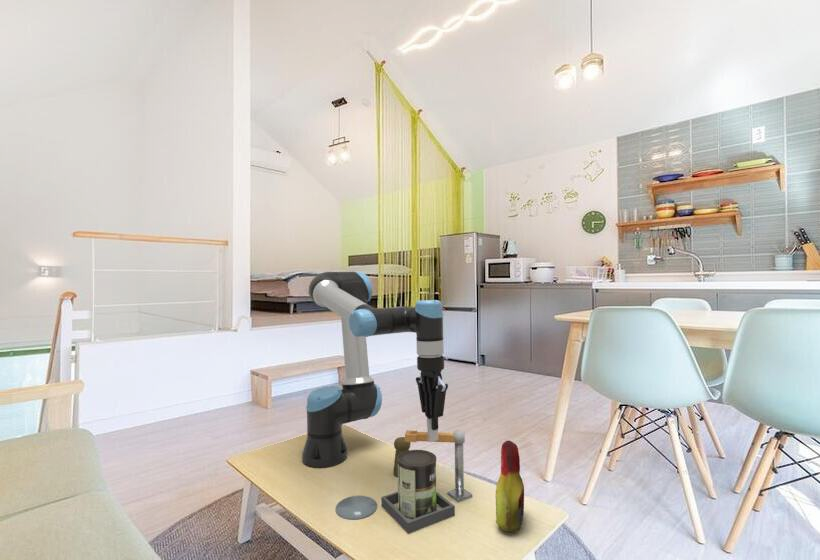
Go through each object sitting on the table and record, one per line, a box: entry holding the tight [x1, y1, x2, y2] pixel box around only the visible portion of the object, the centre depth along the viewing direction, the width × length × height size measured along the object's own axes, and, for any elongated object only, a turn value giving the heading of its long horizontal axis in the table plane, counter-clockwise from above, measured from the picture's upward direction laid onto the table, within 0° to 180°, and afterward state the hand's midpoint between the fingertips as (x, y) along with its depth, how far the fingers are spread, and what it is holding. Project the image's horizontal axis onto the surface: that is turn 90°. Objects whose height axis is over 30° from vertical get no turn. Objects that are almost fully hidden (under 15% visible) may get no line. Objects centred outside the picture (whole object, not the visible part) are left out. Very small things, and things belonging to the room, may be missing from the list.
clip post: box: [446, 443, 473, 503], centre depth 114 cm, size 5×5×15 cm
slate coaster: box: [335, 495, 378, 521], centre depth 108 cm, size 11×11×1 cm
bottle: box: [495, 440, 525, 532], centre depth 101 cm, size 12×6×20 cm, turn 149°
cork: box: [392, 436, 411, 479], centre depth 127 cm, size 6×6×11 cm
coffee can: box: [397, 449, 438, 520], centre depth 106 cm, size 10×10×14 cm
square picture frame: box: [381, 491, 456, 535], centre depth 106 cm, size 14×14×2 cm
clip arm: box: [404, 429, 466, 444], centre depth 114 cm, size 3×17×3 cm, turn 82°
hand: (433, 440), depth 112 cm, fingers closed
